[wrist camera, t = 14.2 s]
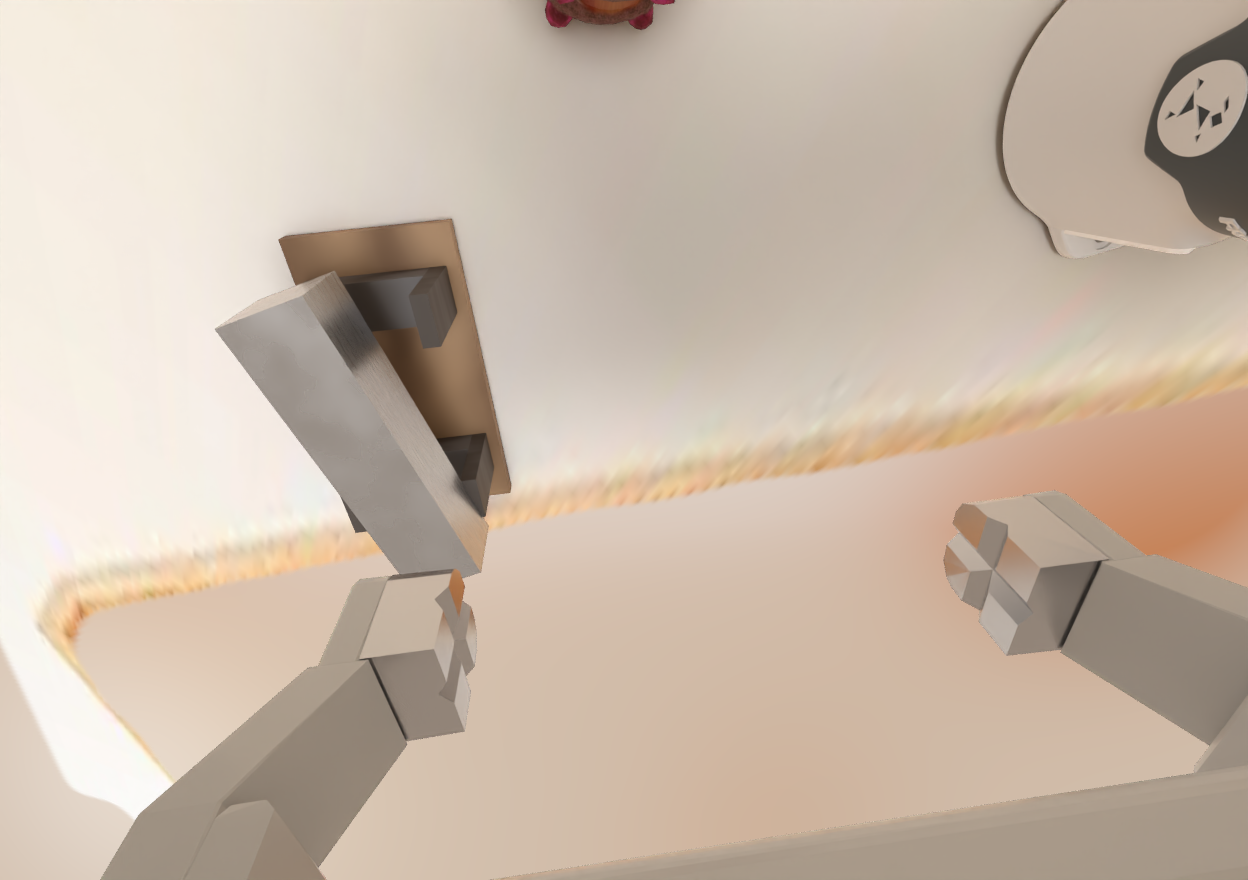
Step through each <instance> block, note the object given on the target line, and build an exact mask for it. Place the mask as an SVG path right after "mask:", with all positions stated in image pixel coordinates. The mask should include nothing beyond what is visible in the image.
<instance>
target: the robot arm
mask: <svg viewBox="0 0 1248 880" xmlns="http://www.w3.org/2000/svg"><path fill="white" fill-rule="evenodd" d="M1003 158H1004V165H1005V169H1006V173H1007V177H1008V180H1009V182H1010V185H1011V187H1012V189H1013V191H1014V192H1015V194H1016V196H1017V197H1018V199H1019V200H1020V201H1021V202H1022V203H1023V205H1024V206H1026V207H1027V208H1028V209H1029V210H1030V211H1031V212H1033V213H1034V214H1035V215H1037V216H1038V217H1039V218H1041V219H1042V220H1043V221H1044V222H1045V223H1046V225H1047V226H1048V228H1049V231H1050V235H1051V237H1052V240H1053V243H1054V245H1055V248H1056V250H1057V251H1058V253H1059V254H1060V255H1061V256H1063V257H1067V258H1074V259H1083V258H1087V257H1090V256H1093V255H1097V254H1100V253H1103V252H1107V251H1110V250H1113V249H1117V248H1120V247H1123V246H1132V247H1137V248H1143V249H1148V250H1154V251H1159V252H1165V253H1171V254H1188V253H1190V252H1191V251H1193V250H1194V249H1195V248H1199V247H1204V246H1208V245H1212V244H1215V243H1218V242H1220V241H1223V240H1226V239H1228V238H1230V237H1238V238H1242V239H1243V240H1245V241H1248V0H1067V1H1066V2H1065V3H1064V4H1063V5H1062V6H1061V7H1060V9H1059V10H1058V11H1057V12H1056V13H1055V15H1054V16H1053V17H1052V18H1051V20H1050V21H1049V22H1048V24H1047V25H1046V26H1045V28H1044V29H1043V31H1042V32H1041V34H1040V35H1039V37H1038V38H1037V40H1036V41H1035V43H1034V45H1033V46H1032V48H1031V50H1030V52H1029V53H1028V55H1027V57H1026V59H1025V61H1024V63H1023V65H1022V67H1021V69H1020V72H1019V74H1018V76H1017V79H1016V81H1015V84H1014V87H1013V90H1012V93H1011V96H1010V99H1009V103H1008V107H1007V111H1006V116H1005V122H1004V130H1003ZM953 525H954V526H955V528H956V529H957V531H958V532H959V533H958V534H957V535H956V536H955V537H954V538H953V539H952V540H951V541H950V542H949V543H948V544H947V546H946V551H945V556H944V565H945V571H946V576H947V579H948V581H949V583H950V585H951V587H952V589H953V590H954V591H955V593H956V594H957V595H958V597H959V598H960V599H961V600H962V601H964V602H965V603H967V604H969V605H971V606H973V607H975V608H977V609H979V623H980V624H981V625H982V626H983V628H984V629H985V630H986V631H987V633H988V634H989V635H990V636H991V637H992V639H993V640H994V641H995V642H996V643H997V645H998V646H999V647H1000V648H1001V650H1002V651H1003V652H1004V653H1005V654H1006V655H1007V656H1008V655H1017V654H1026V653H1034V652H1044V651H1052V650H1061V653H1062V654H1064V655H1065V656H1067V657H1069V658H1070V659H1072V660H1073V661H1075V662H1077V663H1078V664H1080V665H1081V666H1083V667H1085V668H1086V669H1088V670H1089V671H1091V672H1093V673H1094V674H1096V675H1098V676H1099V677H1101V678H1102V679H1104V680H1105V681H1107V682H1109V683H1110V684H1112V685H1114V686H1115V687H1117V688H1118V689H1120V690H1122V691H1123V692H1125V693H1126V694H1128V695H1130V696H1131V697H1133V698H1134V699H1136V700H1137V701H1139V702H1141V703H1142V704H1144V705H1145V706H1147V707H1149V708H1150V709H1152V710H1154V711H1155V712H1157V713H1158V714H1160V715H1161V716H1163V717H1165V718H1166V719H1168V720H1169V721H1171V722H1173V723H1174V724H1176V725H1178V726H1179V727H1181V728H1182V729H1184V730H1185V731H1187V732H1189V733H1190V734H1192V735H1194V736H1195V737H1197V738H1198V739H1200V740H1201V741H1203V742H1205V743H1206V744H1208V745H1209V747H1208V749H1207V750H1206V751H1205V753H1204V754H1203V755H1202V757H1201V758H1200V759H1199V761H1198V762H1197V764H1196V765H1195V768H1194V773H1192V774H1186V775H1179V776H1173V777H1166V778H1159V779H1153V780H1146V781H1139V782H1133V783H1126V784H1119V785H1113V786H1106V787H1100V788H1094V789H1086V790H1080V791H1073V792H1067V793H1060V794H1053V795H1047V796H1040V797H1033V798H1027V799H1020V800H1013V801H1006V802H1000V803H994V804H987V805H980V806H974V807H967V808H960V809H954V810H947V811H940V812H933V813H927V814H920V815H913V816H907V817H900V818H894V819H887V820H880V821H874V822H867V823H861V824H854V825H847V826H841V827H834V828H828V829H821V830H815V831H808V832H801V833H795V834H788V835H782V836H775V837H769V838H762V839H755V840H749V841H742V842H736V843H729V844H722V845H716V846H709V847H703V848H696V849H690V850H684V851H677V852H670V853H663V854H657V855H651V856H643V857H637V858H630V859H623V860H617V861H611V862H604V863H598V864H590V865H584V866H577V867H571V868H565V869H558V870H551V871H545V872H538V873H532V874H525V875H518V876H512V877H505V878H498V879H491V880H1248V588H1247V587H1244V586H1241V585H1239V584H1236V583H1233V582H1230V581H1228V580H1225V579H1222V578H1220V577H1217V576H1214V575H1211V574H1209V573H1206V572H1203V571H1200V570H1197V569H1195V568H1192V567H1189V566H1187V565H1184V564H1181V563H1178V562H1176V561H1173V560H1170V559H1167V558H1165V557H1162V556H1159V555H1147V556H1146V555H1145V554H1143V553H1142V552H1141V551H1140V550H1138V549H1137V548H1135V547H1134V546H1133V545H1132V544H1130V543H1129V542H1128V541H1127V540H1125V539H1124V538H1122V537H1121V536H1120V535H1119V534H1117V533H1116V532H1115V531H1113V530H1112V529H1111V528H1109V527H1108V526H1107V525H1106V524H1104V523H1103V522H1102V521H1100V520H1099V519H1098V518H1097V517H1095V516H1094V515H1093V514H1091V513H1090V512H1089V511H1087V510H1086V509H1085V508H1083V507H1082V506H1081V505H1080V504H1078V503H1077V502H1076V501H1074V500H1073V499H1072V498H1070V497H1069V496H1068V495H1066V494H1064V493H1061V492H1058V491H1047V492H1040V493H1034V494H1027V495H1023V496H1016V497H1009V498H1002V499H994V500H986V501H979V502H972V503H965V504H962V505H961V506H960V507H959V509H958V510H957V511H956V514H955V517H954V520H953ZM464 589H465V585H464V582H463V580H462V577H461V574H460V571H458V570H457V569H446V570H437V571H427V572H417V573H408V574H399V575H392V576H386V577H377V578H366V579H360V580H359V581H357V582H356V583H355V584H354V585H353V586H352V588H351V591H350V593H349V596H348V598H347V600H346V602H345V605H344V607H343V609H342V612H341V614H340V616H339V619H338V621H337V624H336V626H335V628H334V630H333V633H332V635H331V637H330V640H329V642H328V644H327V647H326V649H325V651H324V654H323V656H322V658H321V661H320V663H319V665H318V666H316V667H309V668H307V669H306V670H304V671H303V672H302V673H301V674H300V675H299V676H298V677H296V678H295V679H294V680H293V681H292V682H291V683H290V684H289V685H287V686H286V687H285V688H284V689H283V690H282V691H280V692H279V693H278V694H277V695H276V696H275V697H274V698H272V699H271V700H270V701H269V702H268V703H267V704H265V705H264V706H263V707H262V708H261V709H260V710H259V711H257V712H256V713H255V714H254V715H253V716H252V717H251V718H249V719H248V720H247V721H246V722H245V723H244V724H243V725H241V726H240V727H239V728H238V729H237V730H236V731H234V732H233V733H232V734H231V735H230V736H229V737H228V738H226V739H225V740H224V741H223V742H222V743H221V744H219V745H218V746H217V747H216V748H215V749H214V750H213V751H211V752H210V753H209V754H208V755H207V756H206V757H204V758H203V759H202V760H201V761H200V762H199V763H198V764H197V765H195V766H194V767H193V768H192V769H191V770H189V771H188V772H187V773H186V774H185V775H184V776H183V777H181V778H180V779H179V780H178V781H177V782H176V783H174V784H173V785H172V786H171V787H170V788H169V789H168V790H166V791H165V792H164V793H163V794H162V795H161V796H160V797H158V798H157V799H156V800H155V801H154V802H153V803H151V804H150V805H149V806H148V807H147V808H146V809H145V810H143V811H142V812H141V813H140V814H139V815H138V817H137V818H136V820H135V822H134V824H133V825H132V827H131V829H130V830H129V832H128V834H127V836H126V837H125V839H124V841H123V842H122V844H121V846H120V847H119V849H118V851H117V852H116V854H115V856H114V858H113V859H112V861H111V862H110V864H109V866H108V868H107V869H106V871H105V872H104V874H103V876H102V878H101V879H100V880H327V879H326V878H325V876H324V875H323V874H322V872H321V871H320V870H319V866H320V865H321V863H322V862H323V861H324V859H325V858H326V856H327V855H328V854H329V852H330V851H331V849H332V848H333V846H334V845H335V844H336V843H337V841H338V840H339V838H340V837H341V836H342V834H343V833H344V831H345V830H346V829H347V827H348V826H349V824H350V823H351V822H352V820H353V819H354V818H355V816H356V815H357V814H358V812H359V811H360V809H361V808H362V806H363V805H364V804H365V802H366V801H367V799H368V798H369V797H370V796H371V794H372V793H373V791H374V790H375V789H376V787H377V786H378V785H379V783H380V782H381V780H382V779H383V778H384V776H385V775H386V773H387V772H388V771H389V769H390V768H391V767H392V765H393V764H394V762H395V761H396V760H397V758H398V757H399V756H400V754H401V752H402V751H403V750H404V749H405V747H406V746H407V742H406V741H410V740H417V739H423V738H428V737H435V736H440V735H446V734H452V733H458V732H464V731H465V726H466V720H467V713H468V707H469V700H470V694H471V690H470V688H469V685H468V682H467V678H466V676H467V674H468V673H469V672H470V671H471V670H472V669H473V668H474V666H475V659H476V651H477V640H476V639H477V638H476V637H477V633H476V626H475V619H474V615H473V612H472V608H471V606H469V605H468V604H466V603H465V602H464V601H462V600H463V594H464Z"/></svg>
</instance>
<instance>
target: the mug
mask: <svg viewBox="0 0 1248 880" xmlns="http://www.w3.org/2000/svg"><path fill="white" fill-rule="evenodd" d="M674 2H675V0H548V1H547V4H546V8H545V13H546V18H547V20H548V22H549V24H550V25H551V26H554V27H557V28H559V27H566V26H567V24H568V23H569V22H570V21H571V20H572V18H575V19H578V20H580V21H583V22H586V23H591V24H598V25H605V24H615V23H619V22H623V21H629V23H630V24H631V25H632V26H633V27H635V28H636V29H639V30H642V29H646V28H647V27H648V26H649V25H651V24H652V22H653V4H654V3H655V4H662V5H665V4H672V3H674Z"/></svg>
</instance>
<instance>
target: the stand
mask: <svg viewBox="0 0 1248 880" xmlns="http://www.w3.org/2000/svg"><path fill="white" fill-rule="evenodd" d="M279 243H280V245H281V248H282V251H283V253H284V256H285V258H286V261H287V264H288V266H289V269H290V272H291V274H292V277H293V280H294V282H295V285H299V284H301V283H304V282H307V281H309V280H312V279H315V278H317V277H320V276H322V275H325V274H328V273H330V272H333V271H335V272H336V273H337V275H338V277H339V278H340V280H341V282H342V283H343V285H344V287H345V288H346V290H347V292H348V293H349V295H350V297H351V298H352V300H353V302H354V303H355V305H356V307H357V308H358V310H359V312H360V313H361V315H362V317H363V318H364V320H365V322H366V323H367V325H368V327H369V328H370V330H371V332H372V333H373V335H374V337H375V338H376V340H377V342H378V343H379V345H380V347H381V348H382V350H383V351H384V353H385V355H386V356H387V358H388V360H389V361H390V363H391V365H392V366H393V368H394V370H395V371H396V373H397V375H398V376H399V378H400V380H401V381H402V383H403V385H404V386H405V388H406V390H407V391H408V393H409V395H410V396H411V398H412V400H413V401H414V403H415V405H416V406H417V408H418V410H419V411H420V413H421V415H422V416H423V418H424V420H425V421H426V423H427V425H428V426H429V428H430V430H431V431H432V433H433V435H434V436H435V438H436V439H437V441H438V443H439V444H440V446H441V448H442V449H443V451H444V453H445V454H446V456H447V458H448V459H449V461H450V463H451V464H452V466H453V468H454V469H455V471H456V473H457V474H458V476H459V478H460V479H461V481H462V483H463V484H464V486H465V488H466V489H467V491H468V493H469V494H470V496H471V498H472V499H473V501H474V503H475V504H476V506H477V508H478V509H479V511H480V513H481V514H482V516H483V517H485V516H486V511H487V505H488V499H489V495H496V494H504V493H510V491H511V482H510V478H509V473H508V469H507V464H506V460H505V455H504V451H503V447H502V442H501V438H500V433H499V429H498V424H497V420H496V415H495V411H494V406H493V402H492V397H491V393H490V388H489V384H488V380H487V375H486V371H485V366H484V362H483V357H482V353H481V348H480V344H479V339H478V335H477V330H476V326H475V321H474V317H473V312H472V308H471V304H470V299H469V295H468V290H467V286H466V281H465V277H464V272H463V268H462V263H461V259H460V254H459V250H458V245H457V241H456V237H455V232H454V228H453V223H452V219H446V220H437V221H427V222H417V223H408V224H398V225H388V226H379V227H369V228H359V229H350V230H340V231H330V232H321V233H311V234H301V235H292V236H285V237H283V238H281V239H279ZM341 499H342V497H341ZM342 501H343V503H344V506H345V508H346V511H347V513H348V515H349V518H350V520H351V523H352V525H353V528H354V530H355V532H356V533H358V532H366V531H367V530H366V529H365V528H364V526H363V525H362V524H361V522H360V521H359V520H358V518H357V517H356V516H355V514H354V513H353V512H352V511H351V509H350V508H349V507H348V505H347V504H346V503H345V501H344V500H343V499H342Z"/></svg>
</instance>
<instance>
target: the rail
mask: <svg viewBox="0 0 1248 880" xmlns="http://www.w3.org/2000/svg"><path fill="white" fill-rule="evenodd" d="M215 330H216V332H217V333H218V334H219V336H220V337H221V338H222V340H223V341H224V342H225V344H226V345H227V346H228V348H229V349H230V350H231V352H232V353H233V354H234V356H235V357H236V358H237V359H238V361H239V362H240V363H241V365H242V366H243V367H244V369H245V370H246V371H247V373H248V374H249V375H250V377H251V378H252V379H253V381H254V382H255V383H256V385H257V386H258V387H259V389H260V390H261V391H262V393H263V394H264V395H265V397H266V398H267V399H268V401H269V402H270V403H271V405H272V406H273V407H274V409H275V410H276V411H277V412H278V414H279V415H280V416H281V418H282V419H283V420H284V422H285V423H286V424H287V426H288V427H289V428H290V430H291V431H292V432H293V434H294V435H295V436H296V438H297V439H298V440H299V442H300V443H301V444H302V446H303V447H304V448H305V450H306V451H307V452H308V454H309V455H310V456H311V458H312V459H313V460H314V462H315V463H316V464H317V465H318V467H319V468H320V469H321V471H322V472H323V473H324V475H325V476H326V477H327V479H328V480H329V481H330V483H331V484H332V485H333V487H334V488H335V489H336V491H337V492H338V493H339V495H340V496H341V497H342V499H343V500H344V501H345V503H346V504H347V505H348V507H349V508H350V509H351V511H352V512H353V513H354V514H355V516H356V517H357V518H358V520H359V521H360V522H361V524H362V525H363V526H364V528H365V529H366V530H367V532H368V533H369V534H370V536H371V537H372V538H373V540H374V541H375V542H376V544H377V545H378V546H379V548H380V549H381V550H382V552H383V553H384V554H385V556H386V557H387V558H388V560H389V561H390V562H391V563H392V565H393V566H394V567H395V569H396V570H397V571H398V573H399V574H408V573H417V572H427V571H437V570H446V569H457V570H458V571H460V574H461V577H462V578H465V577H468V576H471V575H474V574H477V573H480V572H481V569H482V563H483V557H484V551H485V545H486V539H487V533H488V527H489V526H488V524H487V523H486V521H485V519H484V518H483V516H482V514H481V513H480V511H479V509H478V508H477V506H476V504H475V503H474V501H473V499H472V498H471V496H470V494H469V493H468V491H467V489H466V488H465V486H464V484H463V483H462V481H461V479H460V478H459V476H458V474H457V473H456V471H455V469H454V468H453V466H452V464H451V463H450V461H449V459H448V458H447V456H446V454H445V453H444V451H443V449H442V448H441V446H440V444H439V443H438V441H437V439H436V438H435V436H434V435H433V433H432V431H431V430H430V428H429V426H428V425H427V423H426V421H425V420H424V418H423V416H422V415H421V413H420V411H419V410H418V408H417V406H416V405H415V403H414V401H413V400H412V398H411V396H410V395H409V393H408V391H407V390H406V388H405V386H404V385H403V383H402V381H401V380H400V378H399V376H398V375H397V373H396V371H395V370H394V368H393V366H392V365H391V363H390V361H389V360H388V358H387V356H386V355H385V353H384V351H383V350H382V348H381V347H380V345H379V343H378V342H377V340H376V338H375V337H374V335H373V333H372V332H371V330H370V328H369V327H368V325H367V323H366V322H365V320H364V318H363V317H362V315H361V313H360V312H359V310H358V308H357V307H356V305H355V303H354V302H353V300H352V298H351V297H350V295H349V293H348V292H347V290H346V288H345V287H344V285H343V283H342V282H341V280H340V278H339V277H338V275H337V273H336V272H335V271H333V272H330V273H328V274H325V275H322V276H320V277H317V278H315V279H312V280H309V281H307V282H304V283H301V284H299V285H296V286H294V287H291V288H288V289H286V290H283V291H281V292H278V293H275V294H273V295H270V296H268V297H265V298H262V299H260V300H258V301H256V302H255V303H253V304H252V305H250V306H249V307H247V308H246V309H244V310H243V311H241V312H240V313H238V314H236V315H235V316H233V317H232V318H230V319H229V320H227V321H226V322H224V323H223V324H221V325H220V326H218V327H217V328H215Z"/></svg>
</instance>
